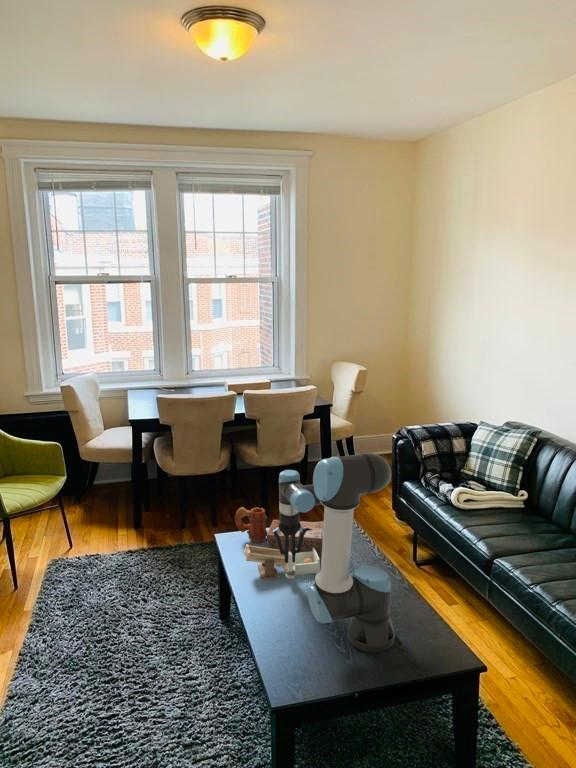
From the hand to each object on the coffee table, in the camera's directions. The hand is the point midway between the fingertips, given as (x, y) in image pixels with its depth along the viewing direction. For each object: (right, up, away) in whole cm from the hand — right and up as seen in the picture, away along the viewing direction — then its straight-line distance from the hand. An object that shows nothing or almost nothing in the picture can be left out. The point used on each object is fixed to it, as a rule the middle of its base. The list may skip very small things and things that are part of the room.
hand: (289, 569), depth 212 cm
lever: (-8, +1, +4) cm, 9 cm away
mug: (-17, +1, +36) cm, 39 cm away
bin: (+6, -3, +12) cm, 14 cm away
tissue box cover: (+4, -1, +27) cm, 27 cm away
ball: (+7, -1, +12) cm, 14 cm away
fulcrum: (-9, -4, +9) cm, 13 cm away
